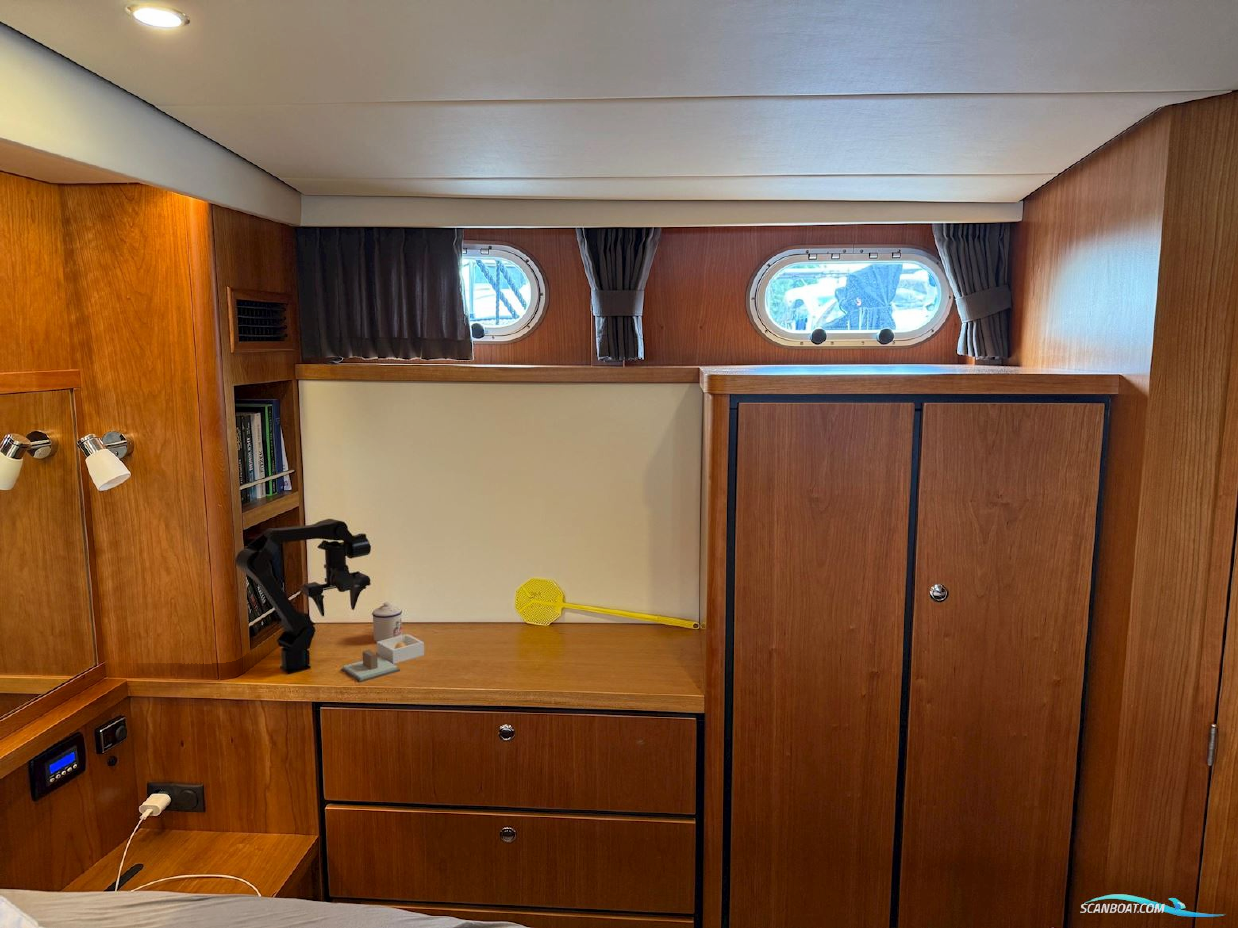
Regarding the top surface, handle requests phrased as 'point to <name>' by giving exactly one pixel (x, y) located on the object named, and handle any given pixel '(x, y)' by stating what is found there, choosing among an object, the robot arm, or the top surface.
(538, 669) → the top surface
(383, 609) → the teacup with lid
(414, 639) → the dish
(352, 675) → the mat
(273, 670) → the top surface
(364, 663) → the lid
